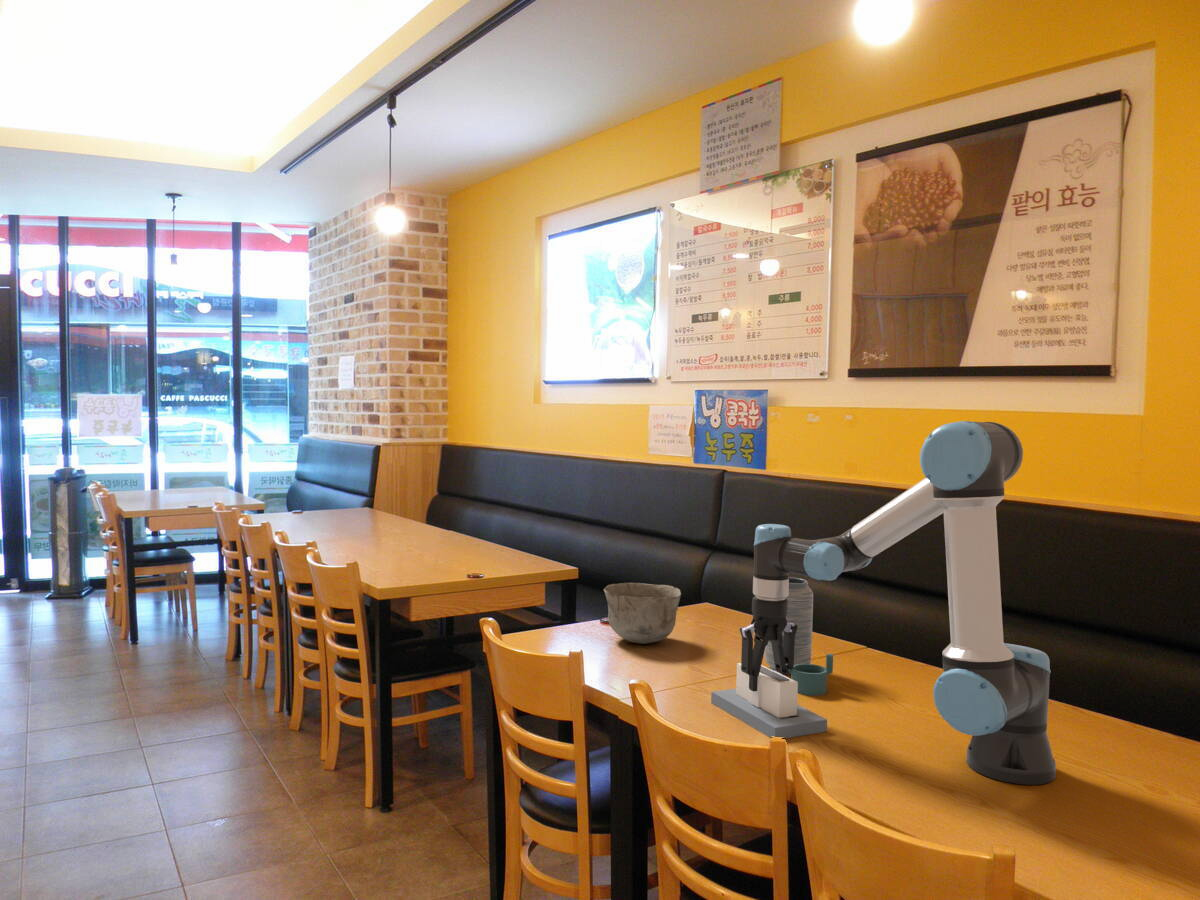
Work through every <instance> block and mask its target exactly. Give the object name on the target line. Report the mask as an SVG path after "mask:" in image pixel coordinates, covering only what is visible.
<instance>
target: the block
mask: <svg viewBox="0 0 1200 900" xmlns="http://www.w3.org/2000/svg"><path fill="white" fill-rule="evenodd" d="M759 676H761V677H762V696H761V707H760V708H762V709H764V710H766V711H767V712H769V713H771V714H773V715H775V716H776V717H778V718H780V719H786V718H789V716H794V715H797V704H798V694H799V693H798V682H797V681H795V680H792V679H791V678H790V677H788V676H786V675H785V676H784V675H782V674H780V673H778V672H775V671H773V670H771V668H770V667H769V668H768V667H766V666H764V665H763V664H761V668H760V673H759ZM735 677H736V680H735V681H736V682H735V683H736V684H735V689H736V695H738V696H740V697H742V698H743V699H745V700H747V701H749V702H751V690H750V689H749V675H748V674H746V673H744V672H742V671H741V662H737V663H736V676H735Z"/></svg>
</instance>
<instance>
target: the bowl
mask: <svg viewBox="0 0 1200 900" xmlns="http://www.w3.org/2000/svg"><path fill="white" fill-rule="evenodd" d="M603 592H604V595H605V597H606V601H607V602H606V603H607V609H608V615H607V620H608V624H609V626H610V628H611V629H612V631H614V633H615V634H617V635H618V636H619V637H620V638H622V639H623V640H625V641H627V642H630V643H634V644H640V645H647V644H653V643H656V642H660V641H663V640H664V639H666V638H668V636H670V635H671V633H672V632H673V630H674V628H675V625H676V622H677V611H678V610H679V603H680V599H681V595H682V592H681V589H679V587H675V586H672V585H668V584H651V583H642V582H620V583H612V584H608V585H607V586H605V587H604V588H603Z"/></svg>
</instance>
